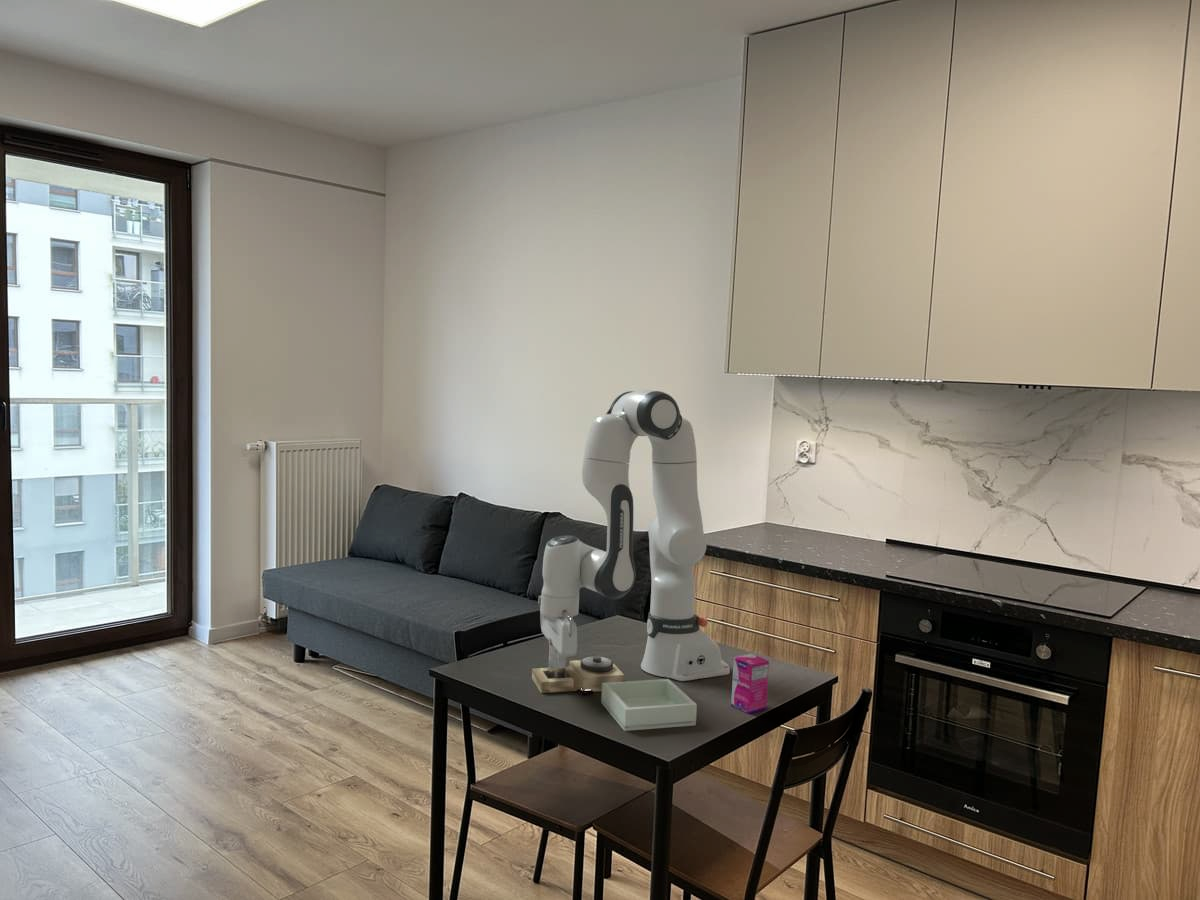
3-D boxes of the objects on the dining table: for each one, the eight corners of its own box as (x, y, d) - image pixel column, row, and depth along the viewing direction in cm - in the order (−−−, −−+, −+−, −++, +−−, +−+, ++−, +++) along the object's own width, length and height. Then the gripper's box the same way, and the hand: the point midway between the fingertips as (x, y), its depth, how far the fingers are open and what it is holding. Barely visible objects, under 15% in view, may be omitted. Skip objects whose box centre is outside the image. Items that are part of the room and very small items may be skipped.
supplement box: (729, 706, 197) (732, 656, 196) (748, 701, 200) (751, 652, 200) (748, 714, 192) (751, 664, 191) (767, 709, 196) (770, 660, 195)
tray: (667, 698, 200) (668, 678, 200) (695, 725, 185) (696, 704, 185) (601, 702, 195) (602, 683, 195) (624, 730, 180) (625, 709, 180)
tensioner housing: (608, 672, 216) (609, 649, 215) (623, 689, 204) (625, 664, 204) (530, 677, 210) (531, 653, 209) (542, 694, 198) (543, 669, 198)
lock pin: (562, 680, 208) (564, 635, 207) (567, 687, 204) (569, 641, 203) (545, 682, 207) (547, 636, 206) (549, 688, 203) (551, 641, 202)
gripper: (585, 617, 195) (582, 677, 196) (561, 594, 214) (559, 649, 216) (558, 618, 193) (555, 679, 194) (536, 595, 213) (534, 650, 214)
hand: (557, 663), depth 205 cm, fingers open, 4 cm apart
